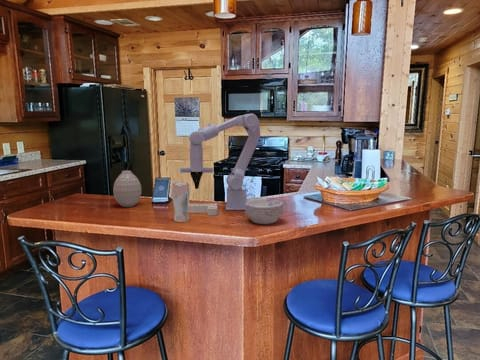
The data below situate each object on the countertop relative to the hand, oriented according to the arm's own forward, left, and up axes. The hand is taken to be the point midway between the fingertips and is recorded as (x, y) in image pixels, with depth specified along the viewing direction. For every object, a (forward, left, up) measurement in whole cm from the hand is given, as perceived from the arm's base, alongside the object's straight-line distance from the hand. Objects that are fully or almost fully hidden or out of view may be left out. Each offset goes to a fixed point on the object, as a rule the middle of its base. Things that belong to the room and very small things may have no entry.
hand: (196, 188), depth 167 cm
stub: (-8, +8, -10) cm, 15 cm away
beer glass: (+5, +18, -10) cm, 21 cm away
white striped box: (-3, +3, -10) cm, 11 cm away
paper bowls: (-29, +20, -10) cm, 37 cm away
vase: (+34, -9, -10) cm, 37 cm away
